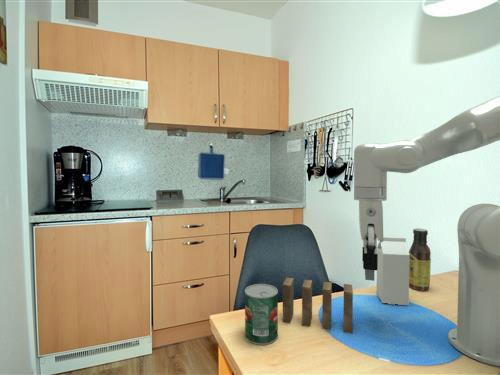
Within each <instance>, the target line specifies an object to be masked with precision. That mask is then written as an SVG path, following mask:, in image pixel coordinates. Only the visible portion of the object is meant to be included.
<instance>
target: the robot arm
mask: <svg viewBox="0 0 500 375" xmlns="http://www.w3.org/2000/svg"><path fill="white" fill-rule="evenodd" d="M498 141H500V95H498V96H496V97H494V98H492V99H490V100H487V101H484V102H482V103H480V104H478V105H475V106H473V107H471V108H469V109H466V110H465V111H463V112H461V113H459V114H457V115H455V116H454V117H452V118H450V119H449V120H448V121H446V122H444V123H442V124H441V125H440V126H438V127H435V128H434V129H432V130H430V131H428V132H426V133H424V134H421V135H419V136H417V137H415V138H413V139H409V140H408V139H405V140H399V141H394V142H393V141H392V142H388V143H387V142H386V143H364V144H359V145H356V146H355V148H354V151H353V200H354V201H358V224H359V233H360V239H361V240H362V241H363V242H362V243H363V244H362V245H363V246H362V255H361V256H362V267H363V270H365V269H366V270H374V271H377V269H378V254H377V246H378V242H377V240H378V241H379V242H383V237H384V210H383V209H384V208H383V202H384V201H387V200H388V197H387V196H388V189H387V187H388V172H389V173H397V174H398V173H400V174H410V173H413V172H416V171H418V170H419V169H420V168H423V167H425V166H426V167H427V166H428V165H431V164H433V163H435V162H439V161H441V160H444V159H446V158H449V157H452V156H455V155H458V154H462V153H467V152H470V151H471V152H472V151H474V150H477V149H479V148H482V147H485V146H488V145H491V144H494V143H496V142H498ZM456 230H457V233H456V234H457V241H458V242H457V243H458V278H457V279H458V280H457V282H458V284H457V286H458V287H457V314H456V315H457V317H456V319H457V320H456V321H457V322H456V327H455V328H451V329H450V330H449V331H448V334H447V335H448V336H447V337H448V341H449V343H450V345H452V346H453V347H454V348H455V349H456V350H457V351H459V352H460V353H462V354H464V355H465V356H467V357H469V358H470V359H474V360H476V361H479V362H482V363H484V364H488V365H491V366H495V367H500V205H498V204H492V203H478V204H474V205H471V206H470V207H467V208H466V209H465V210H464V211H463V212H461V214H460V216H459V218H458V222H457V228H456ZM366 238H368V240H366ZM374 240H375V241H374ZM367 243H368V244H367Z"/></svg>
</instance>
